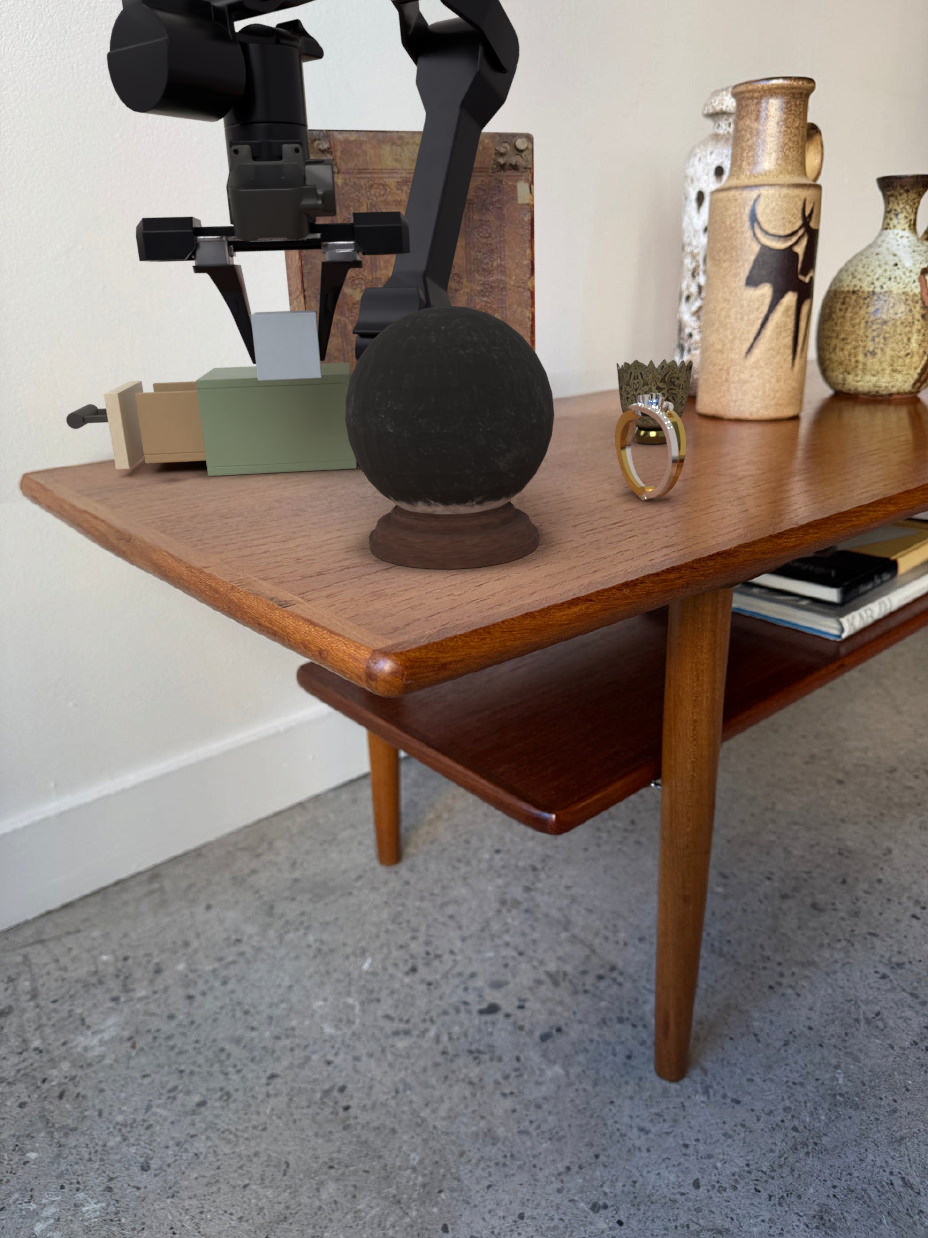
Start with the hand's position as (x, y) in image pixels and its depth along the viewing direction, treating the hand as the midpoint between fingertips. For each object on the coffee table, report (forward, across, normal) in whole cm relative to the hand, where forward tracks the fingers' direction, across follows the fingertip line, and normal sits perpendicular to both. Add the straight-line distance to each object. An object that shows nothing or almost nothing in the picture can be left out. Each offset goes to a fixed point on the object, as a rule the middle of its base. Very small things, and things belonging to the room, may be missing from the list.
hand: (288, 362), depth 69 cm
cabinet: (+11, -2, +19) cm, 22 cm away
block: (+1, 0, 0) cm, 1 cm away
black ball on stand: (+11, +10, -14) cm, 21 cm away
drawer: (+10, -13, +19) cm, 25 cm away
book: (+11, +12, +33) cm, 37 cm away
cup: (+11, +35, +18) cm, 41 cm away
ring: (+11, +26, -6) cm, 29 cm away
